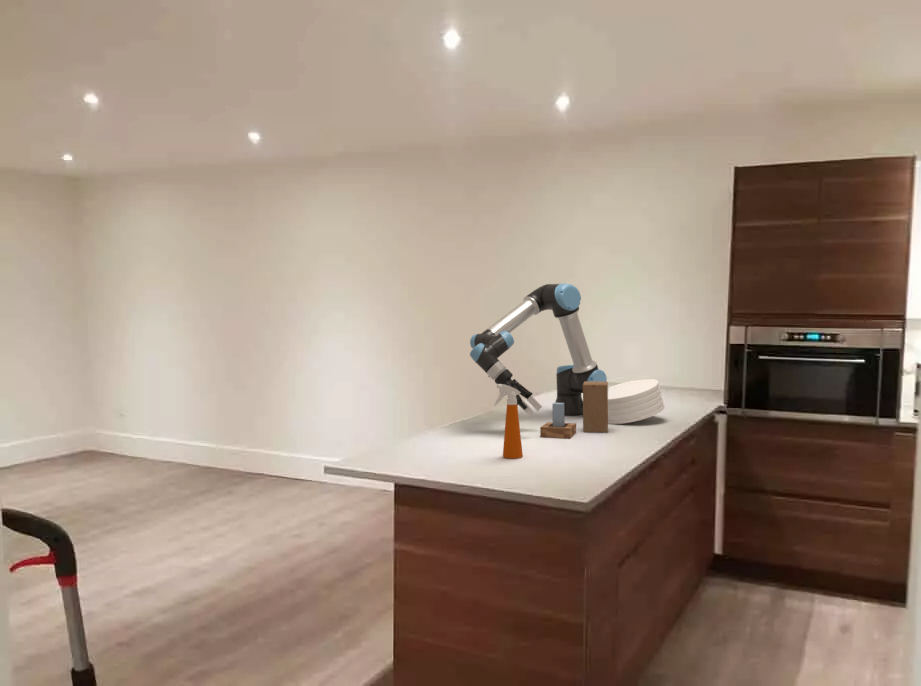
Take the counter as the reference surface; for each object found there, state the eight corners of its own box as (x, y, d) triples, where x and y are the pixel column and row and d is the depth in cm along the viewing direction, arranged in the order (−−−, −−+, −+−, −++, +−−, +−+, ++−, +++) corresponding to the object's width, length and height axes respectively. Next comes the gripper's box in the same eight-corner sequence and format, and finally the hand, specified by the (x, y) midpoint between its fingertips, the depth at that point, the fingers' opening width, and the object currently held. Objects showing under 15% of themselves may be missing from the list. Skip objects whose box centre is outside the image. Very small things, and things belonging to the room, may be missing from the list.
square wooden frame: (547, 431, 312) (547, 422, 312) (576, 433, 308) (576, 423, 307) (540, 437, 301) (540, 427, 300) (569, 438, 297) (569, 428, 296)
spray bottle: (490, 456, 267) (488, 383, 266) (517, 453, 271) (516, 381, 269) (498, 460, 261) (496, 385, 259) (526, 457, 265) (525, 383, 263)
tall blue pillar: (554, 433, 307) (554, 402, 306) (564, 434, 305) (564, 402, 305) (552, 435, 303) (552, 404, 302) (562, 436, 302) (562, 404, 301)
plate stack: (677, 406, 326) (670, 381, 324) (622, 427, 318) (615, 401, 317) (643, 400, 352) (637, 377, 351) (591, 419, 345) (585, 395, 343)
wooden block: (607, 432, 307) (607, 384, 306) (583, 432, 309) (582, 384, 308) (608, 428, 317) (607, 381, 316) (584, 427, 319) (583, 381, 318)
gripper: (502, 377, 323) (536, 412, 320) (485, 384, 300) (522, 423, 296) (514, 365, 321) (549, 400, 317) (497, 371, 298) (535, 410, 294)
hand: (536, 411), depth 307 cm, fingers open, 13 cm apart
